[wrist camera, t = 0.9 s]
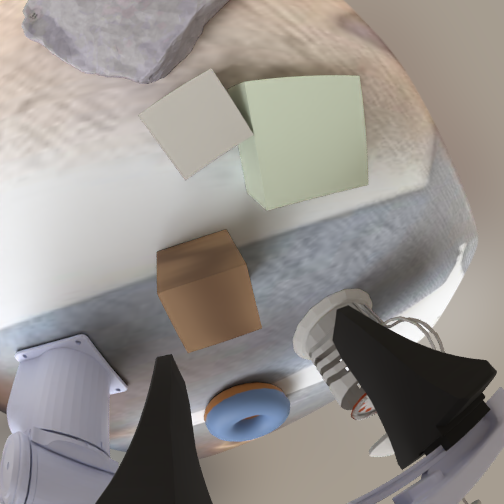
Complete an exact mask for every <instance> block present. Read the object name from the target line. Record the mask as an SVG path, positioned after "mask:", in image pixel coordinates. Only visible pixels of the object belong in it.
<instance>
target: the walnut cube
mask: <svg viewBox="0 0 504 504" xmlns="http://www.w3.org/2000/svg"><path fill="white" fill-rule="evenodd" d="M157 294H158V296H159V298H160V300H161V302H162V304H163V306H164V308H165V311H166V312H167V314H168V316H169V318H170V320H171V322H172V324H173V326H174V328H175V330H176V332H177V334H178V336H179V338H180V339H181V341H182V343H183V345H184V347H185V349H186V350H187V352H188V353H190V352H193V351H196V350H199V349H203V348H206V347H209V346H212V345H215V344H218V343H221V342H224V341H227V340H230V339H233V338H236V337H239V336H242V335H245V334H247V333H250V332H253V331H256V330H259V329H261V328H262V326H261V322H260V318H259V314H258V310H257V306H256V302H255V298H254V293H253V289H252V285H251V281H250V277H249V273H248V269H247V265H246V263H245V261H244V259H243V257H242V256H241V254H240V252H239V251H238V249H237V247H236V245H235V244H234V242H233V240H232V238H231V237H230V235H229V233H228V231H227V230H226V229H225V230H222V231H219V232H216V233H213V234H210V235H206V236H203V237H200V238H197V239H194V240H191V241H188V242H185V243H182V244H179V245H176V246H173V247H170V248H167V249H164V250H161V251H158V252H157Z"/></svg>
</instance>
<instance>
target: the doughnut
mask: <svg viewBox="0 0 504 504" xmlns="http://www.w3.org/2000/svg"><path fill="white" fill-rule="evenodd" d="M289 412H290V402H289V400H288V398H287V397H286V395H285V394H284V393H283V391H282V390H281V389H280V388H278V387H276V386H274V385H272V384H268V383H259V382H255V383H245V384H242V385H238V386H234V387H232V388H229V389H227V390H225V391H223V392H221V393H220V394H218V395H217V396H215V397H214V398H213V399H212V400H211V401H210V403H209V404H208V405H207V407H206V409H205V414H204V420H205V423H206V426H207V428H208V430H209V432H210V433H211V434H212V435H214V436H215V437H217V438H219V439H221V440H225V441H246V440H252V439H255V438H259V437H261V436H264V435H266V434H268V433H270V432H272V431H273V430H275V429H277V428H278V427H279V426H280V425H281V424H282V423H284V421H285V420H286V418H287V417H288V415H289Z"/></svg>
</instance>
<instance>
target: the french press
mask: <svg viewBox="0 0 504 504" xmlns="http://www.w3.org/2000/svg"><path fill="white" fill-rule="evenodd" d="M347 305H349V306H351V307H352V308H354V309H356V310H357V311H359V312H361V313H362V314H364V315H366V316H367V317H369V318H371V319H372V320H374V321H377V322H378V323H379V324H381V325H382V326H384V327H386V328H391V327H393V326H395V325H396V324H398V323H400V322H403V321H407V322H410V323H412V324H414V325H416V326H417V327H418V328H419V329H420V330H421V331H422V332H423V333H424V334H425V335H426V336H427V338H428V340H429V342H430V344H431V346H432V349H434V350H436V348H435V346H434V344H433V342H432V340H431V338H430V336H429V334H428V332H427V331H426V330H425V329H424V328H423V327H422V326H421V325H419V324H418V323H421V324H422V325H423V326H424V327H426V328H427V329H428V330H429V331H430V332H431V333H433V334H434V336H435V337H436V339H437V341H438V343H439V345H440V349H441V352H443V353H445V351H444V348H443V345H442V342H441V340H440V338H439V336H438V334H437V333H436V332H435V331H434V330H433V329H432V328H431V327H430V326H429V325H428V324H427V323H425V322H423V321H421V320H419V319H415V318H410V317H409V318H405V317H401V316H400V317H395V318H391V319H389V320H387V321H385V322H383V321H382V320H381V319H380V318H379V317H378V316H377V315H376V314H375V313H374V312H373V311H372V301H371V299H370V296H369V294H368V293H366V292H364V291H362V290H360V289H344V290H341V291H339V292H337V293H334V294H332V295H329V296H327V297H326V298H324V299H323V300H322V301H320V302H319V303H318V304H317V305H315V306H314V307H313V308H311V309H310V310H309V312H308V313H307V314H306V315H305V317H304V318H303V319H302V320H301V322H300V323H299V324H298V326H297V329H296V332H295V334H294V337H293V346H294V351H295V352H296V353H297V354H298V355H299V356H300V357H301V358H303V359H308V360H312V362H313V364H314V365H315V366H316V367H317V370H318V371H319V373H320V374H321V375H322V376H323V379H324V381H325V382H326V384H327V385H328V386H329V389H330V391H331V392H332V394H333V395H334V397H335V399H336V400H337V402H338V403H339V405H340V406H341V407H342V408H343V409H346V410H352V413H351V417H352V418H353V419H355V420H361V419H365V418H368V417H370V416H373V414H374V415H375V413H377V412H376V410H375V408H374V406H373V404H372V402H371V400H370V399H369V397H368V395H367V394H366V392H365V391H364V390H363V388H362V387H361V388H360V389H359V387H358V386H357V384H358V383H359V382H358V381H357V380H356V378H355V377H354V375H353V374H352V373H351V371H350V370H349V371H347V370H346V369H345V367H347V365H346V364H345V363H344V361H343V360H342V361H341V362H340V361H339V360H340V359H342V358H341V356H340V354H339V353H338V351H337V349H336V347H335V345H334V343H333V341H332V339H333V332H334V326H335V319H336V311H337V309H339V308H342V307H345V306H347ZM395 320H398V321H397V322H395V323H393V324H391V325H386V324H387V323H388V322H390V321H395ZM393 454H395V453H394V450H393V448H392V445H391V442H390V440H389V437H388V435H387V433H386V434H385V435H384V436H382V438H380V439H379V440H378V441H377V442H376V443H375V444H374V445H373V446H372V447H371V449H370V450H369V455H370V456H372V457H385V456H389V455H393ZM462 500H463V502H464V503H465V504H468V503H467V501H466V500H465V498H463V499H462ZM471 504H481V501H480V500H476V501H474V502H473V503H471Z"/></svg>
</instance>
